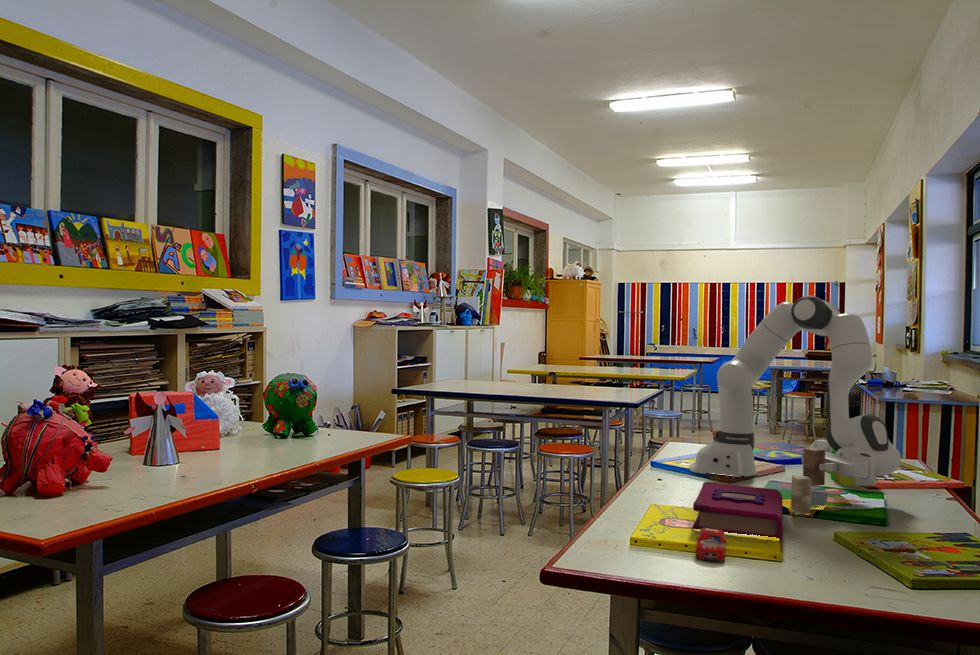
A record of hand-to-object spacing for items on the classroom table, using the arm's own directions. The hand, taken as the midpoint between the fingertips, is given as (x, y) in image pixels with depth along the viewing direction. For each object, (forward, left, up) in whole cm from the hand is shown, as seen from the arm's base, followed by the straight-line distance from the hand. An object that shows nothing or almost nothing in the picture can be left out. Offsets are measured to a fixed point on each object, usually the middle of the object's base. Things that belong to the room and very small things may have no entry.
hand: (811, 464), depth 208 cm
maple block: (-3, -8, -12) cm, 15 cm away
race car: (-27, -51, -13) cm, 59 cm away
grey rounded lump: (+13, +75, -12) cm, 77 cm away
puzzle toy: (+17, +40, -12) cm, 45 cm away
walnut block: (+1, +1, -5) cm, 6 cm away
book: (-20, -24, -13) cm, 33 cm away
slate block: (+1, +1, -12) cm, 12 cm away
